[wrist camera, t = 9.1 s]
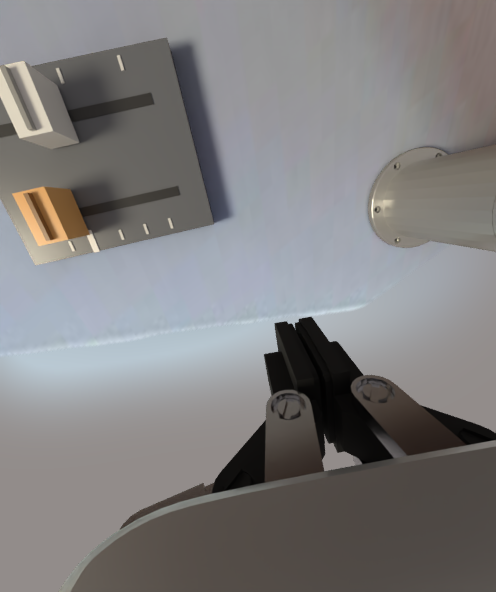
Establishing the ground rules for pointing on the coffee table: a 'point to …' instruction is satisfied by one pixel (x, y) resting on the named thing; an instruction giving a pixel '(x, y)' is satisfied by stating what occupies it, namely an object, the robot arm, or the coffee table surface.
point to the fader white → (35, 106)
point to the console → (112, 152)
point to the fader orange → (51, 214)
